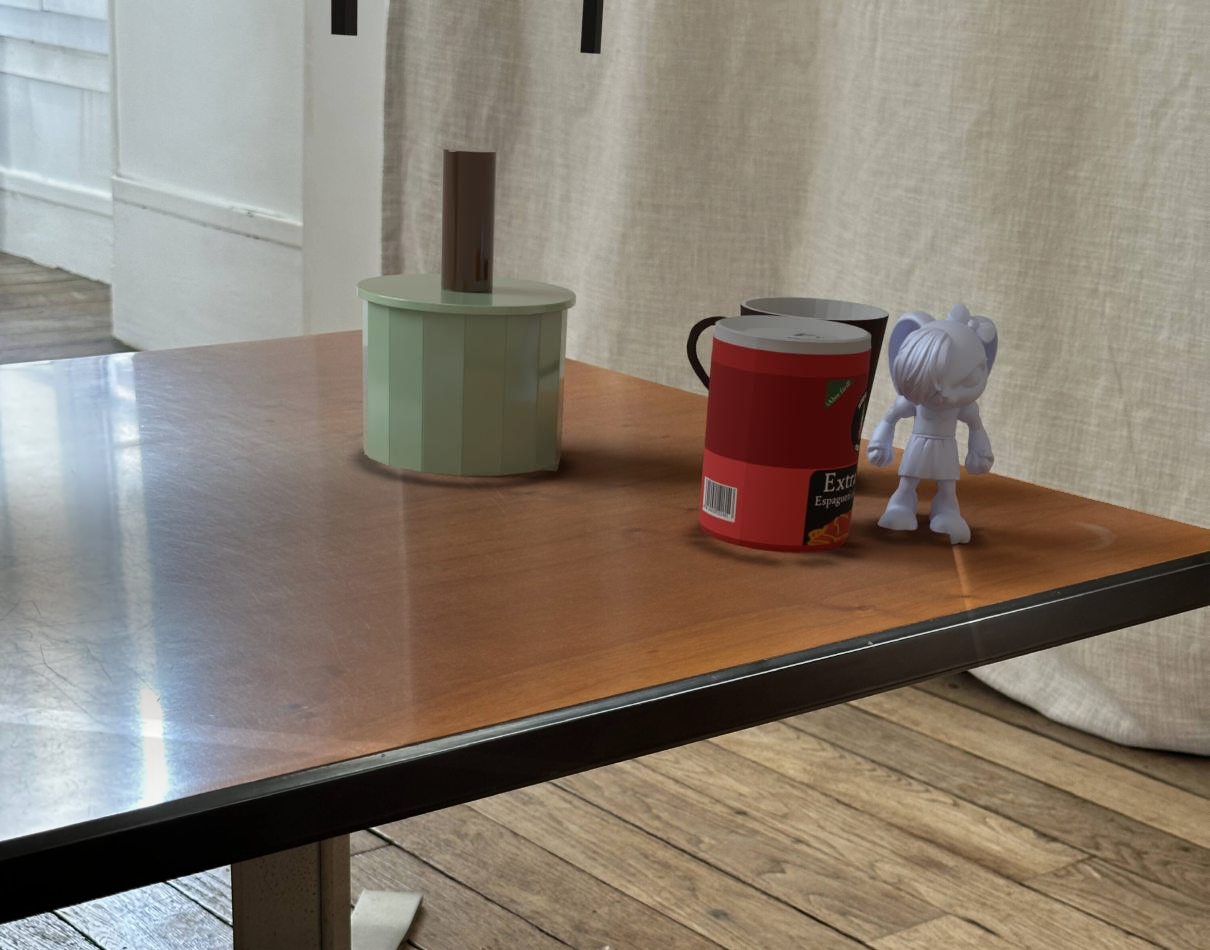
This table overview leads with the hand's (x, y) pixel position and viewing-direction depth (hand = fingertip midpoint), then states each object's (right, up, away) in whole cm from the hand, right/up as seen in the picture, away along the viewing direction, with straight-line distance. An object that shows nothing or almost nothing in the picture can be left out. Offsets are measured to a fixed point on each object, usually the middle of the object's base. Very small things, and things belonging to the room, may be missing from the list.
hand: (466, 45), depth 93 cm
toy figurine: (+25, -26, +1) cm, 36 cm away
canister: (-1, -21, +10) cm, 23 cm away
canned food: (+16, -28, -3) cm, 32 cm away
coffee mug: (+18, -21, +12) cm, 30 cm away
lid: (0, -12, +6) cm, 13 cm away
